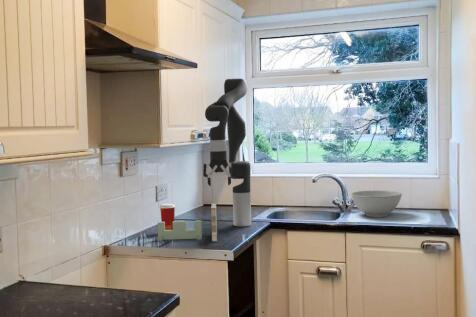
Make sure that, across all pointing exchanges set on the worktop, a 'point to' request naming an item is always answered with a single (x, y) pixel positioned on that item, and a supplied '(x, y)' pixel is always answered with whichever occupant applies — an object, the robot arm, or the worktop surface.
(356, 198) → the decorative bowl
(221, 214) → the worktop surface
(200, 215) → the worktop surface
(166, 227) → the paper cup
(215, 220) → the beige flat panel
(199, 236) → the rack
